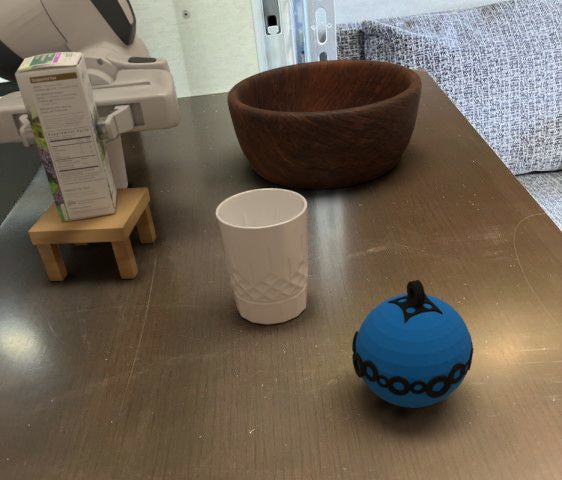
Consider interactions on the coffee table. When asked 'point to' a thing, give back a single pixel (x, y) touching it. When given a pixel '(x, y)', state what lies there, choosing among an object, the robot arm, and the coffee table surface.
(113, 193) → the syrup box
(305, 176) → the wooden bowl
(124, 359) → the coffee table surface
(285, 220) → the white cup
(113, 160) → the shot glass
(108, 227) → the stand
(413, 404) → the ornament
